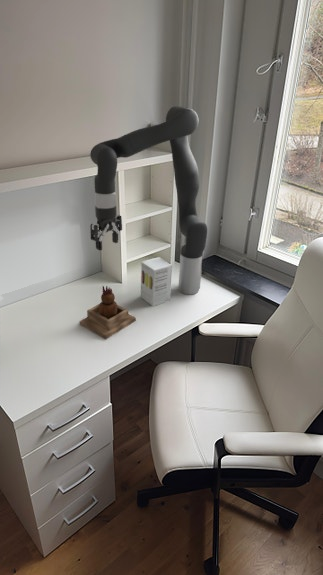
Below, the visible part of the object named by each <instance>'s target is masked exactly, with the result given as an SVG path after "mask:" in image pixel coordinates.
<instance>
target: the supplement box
mask: <svg viewBox="0 0 323 575" xmlns="http://www.w3.org/2000/svg"><path fill="white" fill-rule="evenodd" d="M140 267H141V271H140V298H142V299H143V300H144V301H146V302H147V303H148V304H149V305H150V306H152V307H154V306H157V305H160V304H164V303H166V302H168V301H171V291H172V289H171V288H172V276H173V275H172V274H173V264H171V263H169V262H168V261H166V260H165V259H163V258H162V257H160V256H158V257H157V256H156V257H155V258H154V257H153V258H150V259H146V260H143V261H141V266H140Z"/></svg>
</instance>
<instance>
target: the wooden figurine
mask: <svg viewBox="0 0 323 575" xmlns="http://www.w3.org/2000/svg"><path fill="white" fill-rule="evenodd" d="M104 286H105V285H102V294H101V296H100V298H101V299H100V300H101V302H100V303H99V312H100V315H101V316H103V317H105V318H107V319H110V318H112V317H114V316H115V315H116V314H117V305H118V303H117V302H116V301H115V299H116V296H115V294H114V293H113V289H112V288H110V287H108V285H106V286H105V287H104Z"/></svg>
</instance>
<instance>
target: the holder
mask: <svg viewBox="0 0 323 575" xmlns="http://www.w3.org/2000/svg"><path fill="white" fill-rule="evenodd" d="M99 304H100V303H99ZM99 304H97V305H95V306H93V307H91V308H89V309H87V310H86V313H87V316H86V317H84V318H83V319H81V320H79V325H81V326H82V327H84V328H85V329H87V330H89V331H90V332H92V333H95V334H96V335H98V336H100V337H101V338H103V339H105V340H107V339H109V338H111V337H112V336H114V335H115V334H117V333H119V332H120V331H122V330H123V329H125V328H126V327H128V326H129V325H131V324H133V323H135V322H136V321H137V317H136V316H134V315H132V314H130V313H129V310H128V309H126V308H124V307H122V306H120V305H118V304H117V314H116V315H115V316H114V317H112V318H110V319H107V318H105V317H103V316H101V315H100V312H99Z"/></svg>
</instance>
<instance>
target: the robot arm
mask: <svg viewBox="0 0 323 575" xmlns="http://www.w3.org/2000/svg"><path fill="white" fill-rule="evenodd" d="M199 120H200V118H199V115H198V113H197V112H196V111H195V110H194V109H191V108H189V107H185V106H179V105H175V106H172V107H170V108H169V110H167V113H166V116H165V121H164V122H161V123H158V124H154V125H151V126H147V127H142V128H139V129H137V130H133V131H130V132H129V133H126V134H124V135H121V136H119V137H118V138H112V139H108V140H105V141H102V142H99V143H97V144H95V145H94V146H92V148H91V150H90V153H89V156H90V160H91V161H92V162H93V163H94V164H95V165H96V166H97V174H96V175H95V177H94V182H93V183H94V211H95V212H94V213H95V217H96V218H95V219H96V220H97V221H96V223H91V224H90V226H89V228H90V240H91V241H93V242H95V249H96V250H98V251H101V252H102V251H103V237H105V235H106V233H108V232H112V233H111V235H112V236H111V237H112V238H111V240H112V243H114V244H118V243H119V234H120V232H121V231H123V220H122V219H123V218H122V216H121V215H120V214H117V195H116V182H115V181H116V180H115V179H116V175H117V168H118V159H120V158H124V159H125V158H127V159H128V158H130V157H133V156H134V155H136V154H138V153H139V154H140V152H143V151H145V150H148V149H150V148H152V147H154V146H157V145H160V144H163V143H167V142H168V141H169V144H170V145H169V146H170V150H171V157H172V164H173V174H174V183H175V190H176V194H177V195H176V196H177V203H178V217H179V218H178V221H179V230H180V233H181V234H182V235H183V236H184V237H185V239H186V241H185V244H184V245H182V246H181V247H180V257H179V274H178V283H177V284H178V286H177V288H178V292H180V293H182V294H185V295H195V294H197V293H198V292H199V291H200V288H201V280H202V270H203V269H202V265H203V264H202V263H203V253H204V251H205V249H206V244H207V238H208V226H207V223H206V222H204V221H203V220H202V219H200V218H199V217H198V213H197V207H196V200H197V197H198V193H199V191H200V190H199V189H200V176H199V168H198V164H197V161H196V159H195V157H194V155H193V152H192V150H191V147H190V144H189V143H190V142H189V136H190V135H192V134H193V133H194V132H195V131H196V130H197V129H198V126H199V124H200V123H199V122H200V121H199Z"/></svg>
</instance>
